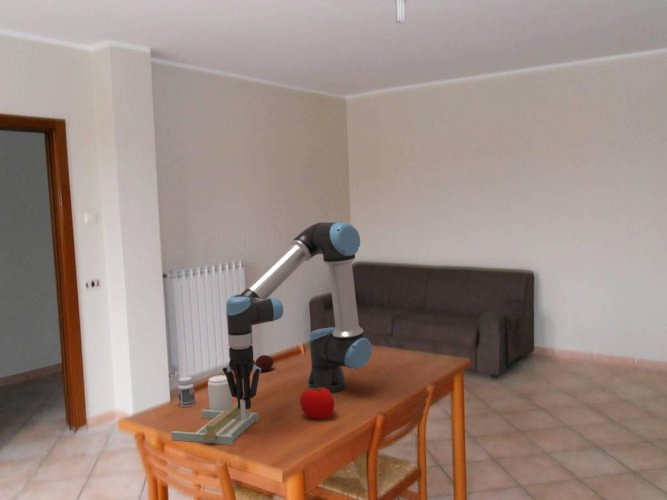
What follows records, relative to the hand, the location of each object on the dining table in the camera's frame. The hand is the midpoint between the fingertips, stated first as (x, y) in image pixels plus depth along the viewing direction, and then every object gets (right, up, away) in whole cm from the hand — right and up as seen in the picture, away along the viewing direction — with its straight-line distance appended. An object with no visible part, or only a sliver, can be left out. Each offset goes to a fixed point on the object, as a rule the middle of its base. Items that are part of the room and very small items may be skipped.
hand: (245, 418), depth 188 cm
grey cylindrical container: (-12, -4, +21) cm, 24 cm away
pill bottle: (-26, -3, +29) cm, 39 cm away
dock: (-10, -5, +3) cm, 11 cm away
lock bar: (-7, -3, +2) cm, 8 cm away
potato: (-2, +1, +68) cm, 68 cm away
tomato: (+23, -3, +11) cm, 26 cm away
